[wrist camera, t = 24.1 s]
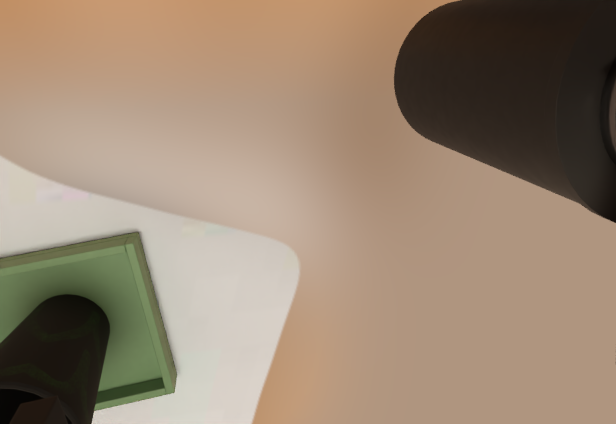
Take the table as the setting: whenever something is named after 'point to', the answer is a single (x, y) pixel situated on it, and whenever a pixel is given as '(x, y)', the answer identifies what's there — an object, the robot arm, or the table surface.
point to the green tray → (114, 302)
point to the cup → (55, 357)
